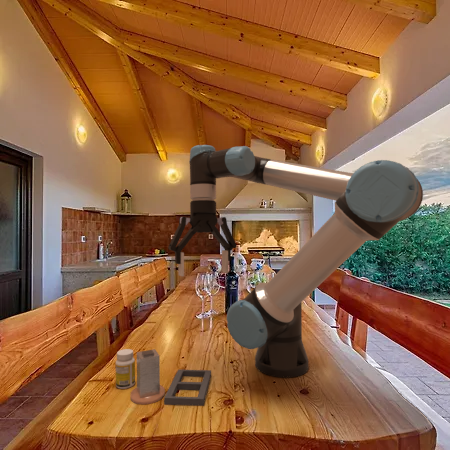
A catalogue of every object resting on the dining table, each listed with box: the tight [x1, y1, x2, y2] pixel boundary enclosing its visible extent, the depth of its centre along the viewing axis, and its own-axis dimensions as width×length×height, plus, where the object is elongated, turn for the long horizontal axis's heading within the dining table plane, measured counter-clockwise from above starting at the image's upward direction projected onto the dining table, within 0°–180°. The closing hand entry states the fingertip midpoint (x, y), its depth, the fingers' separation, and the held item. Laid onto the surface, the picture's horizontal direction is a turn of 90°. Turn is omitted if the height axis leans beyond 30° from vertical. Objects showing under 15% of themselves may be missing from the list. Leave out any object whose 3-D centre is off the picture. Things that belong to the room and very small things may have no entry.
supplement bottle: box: [115, 348, 136, 390], centre depth 81 cm, size 5×5×8 cm
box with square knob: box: [136, 348, 161, 398], centre depth 76 cm, size 4×4×9 cm
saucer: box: [130, 384, 166, 405], centre depth 76 cm, size 8×8×1 cm
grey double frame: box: [163, 369, 212, 407], centre depth 79 cm, size 9×14×2 cm, turn 176°
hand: (203, 274), depth 91 cm, fingers open, 13 cm apart
